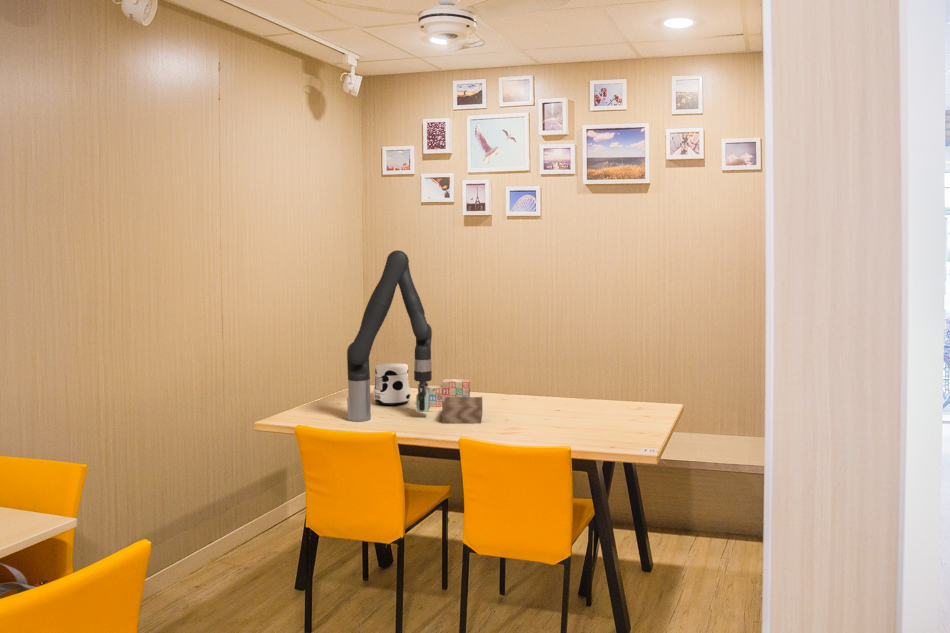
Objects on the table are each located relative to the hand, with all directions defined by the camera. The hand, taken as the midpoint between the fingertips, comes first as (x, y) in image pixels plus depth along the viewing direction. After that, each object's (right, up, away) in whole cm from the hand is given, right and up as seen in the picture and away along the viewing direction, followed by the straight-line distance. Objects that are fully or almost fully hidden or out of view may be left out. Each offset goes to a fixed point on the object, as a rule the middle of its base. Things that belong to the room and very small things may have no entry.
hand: (422, 408), depth 325 cm
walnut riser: (+17, -4, -2) cm, 18 cm away
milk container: (-16, -1, +30) cm, 34 cm away
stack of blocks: (+9, -2, +22) cm, 24 cm away
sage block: (0, -1, 0) cm, 1 cm away
